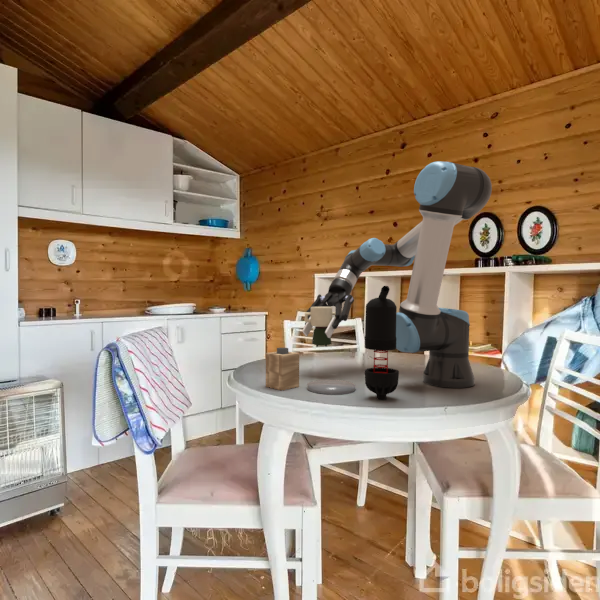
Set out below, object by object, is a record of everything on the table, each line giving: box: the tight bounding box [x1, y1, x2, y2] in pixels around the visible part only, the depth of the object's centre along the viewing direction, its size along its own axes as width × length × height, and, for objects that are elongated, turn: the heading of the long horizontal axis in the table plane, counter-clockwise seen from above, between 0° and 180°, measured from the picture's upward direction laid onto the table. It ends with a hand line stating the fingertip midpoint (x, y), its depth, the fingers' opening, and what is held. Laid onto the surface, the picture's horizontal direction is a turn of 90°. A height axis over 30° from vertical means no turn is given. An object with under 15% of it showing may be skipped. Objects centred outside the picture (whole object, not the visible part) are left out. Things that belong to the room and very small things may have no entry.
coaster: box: [306, 379, 356, 396], centre depth 129 cm, size 14×14×1 cm
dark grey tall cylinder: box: [276, 347, 289, 354], centre depth 131 cm, size 3×3×10 cm
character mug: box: [304, 306, 336, 347], centre depth 146 cm, size 11×7×13 cm, turn 89°
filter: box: [364, 285, 400, 401], centre depth 118 cm, size 14×9×30 cm
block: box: [265, 351, 300, 391], centre depth 131 cm, size 7×7×10 cm
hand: (315, 334), depth 143 cm, fingers closed on character mug, 8 cm apart
